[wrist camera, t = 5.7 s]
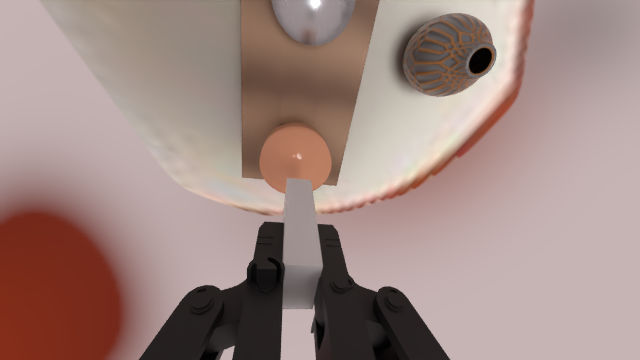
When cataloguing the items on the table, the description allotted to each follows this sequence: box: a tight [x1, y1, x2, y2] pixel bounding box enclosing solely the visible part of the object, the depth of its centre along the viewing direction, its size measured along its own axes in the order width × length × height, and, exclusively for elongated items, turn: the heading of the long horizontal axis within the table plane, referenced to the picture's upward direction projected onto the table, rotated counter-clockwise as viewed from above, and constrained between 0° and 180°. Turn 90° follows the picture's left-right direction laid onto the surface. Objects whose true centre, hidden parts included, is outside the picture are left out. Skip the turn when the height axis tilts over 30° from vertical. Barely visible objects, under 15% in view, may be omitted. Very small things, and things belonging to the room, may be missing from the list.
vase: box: [403, 13, 496, 97], centre depth 21 cm, size 7×7×9 cm
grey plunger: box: [271, 0, 355, 45], centre depth 18 cm, size 6×6×6 cm
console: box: [241, 0, 379, 186], centre depth 22 cm, size 20×10×6 cm, turn 171°
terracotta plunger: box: [259, 122, 332, 193], centre depth 21 cm, size 6×6×6 cm
